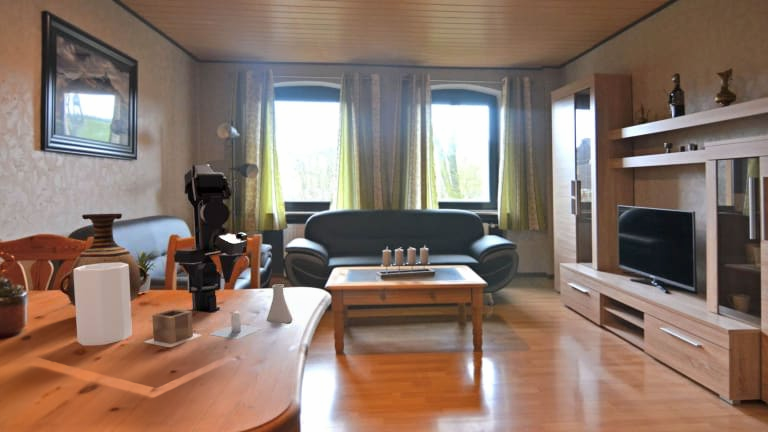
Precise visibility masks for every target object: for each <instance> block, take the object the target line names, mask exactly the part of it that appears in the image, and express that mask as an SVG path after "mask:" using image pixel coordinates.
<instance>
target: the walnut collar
mask: <svg viewBox="0 0 768 432" xmlns="http://www.w3.org/2000/svg"><path fill="white" fill-rule="evenodd" d="M192 311H193V310H184V309H178V308H177V309H176V308H173V309H170V310H167V311H163V312H160V313H155V314H153V315H152V333H153V334H152V335H153V337H152V339H154V341H158V342H163V343H168V344H173V343H176V342H179V341H181V340H184V339H187V338H189V337H192V336H193V334H194V331H193V327H194V326H193V312H192Z"/></svg>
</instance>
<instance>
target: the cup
mask: <svg viewBox="0 0 768 432" xmlns="http://www.w3.org/2000/svg"><path fill="white" fill-rule="evenodd" d="M73 272H74V289H75V306H74V307H75V321H76V335H77V336H76V337H77V338H76V339H77V343H79V344H81V345H82V346H104V345H108V344H111V343H117V342H121V341H124V340H126V339H127V338H129V337H130V336H131V335H133V326H132V325H133V323H132V307H131V302H132V301H130V282H129V265H128V264H125V263H100V264H92V265H84V266H81V267H77V268H75V269H73Z"/></svg>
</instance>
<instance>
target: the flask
mask: <svg viewBox="0 0 768 432" xmlns="http://www.w3.org/2000/svg"><path fill="white" fill-rule="evenodd" d="M284 287H285V285H284V284H282V283H281V284H278V283H277V284H273V285H272V286H271V289H272V292H273V293H272V294H273V295H272V299H271V300H272V301H271V304H270V307H269V311H268V314H267V316H266V320H265V321H266V322H273V323H280V324H288V323H291V322H292V321H293V316H292V313H291V311H290V308H289V306H288V304H287V303H288V302H287V301H286V298H285V295H284Z"/></svg>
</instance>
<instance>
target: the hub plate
mask: <svg viewBox="0 0 768 432" xmlns="http://www.w3.org/2000/svg"><path fill="white" fill-rule="evenodd" d="M241 322H242V320H241V313H240V312H239V311H233V312H232V313H231V315H230V324H231V325H230V326H227V327H224V328H222V329H219V330H216V331H214V332H211V333H208V335H209V336H214V337H215V336H216V337H221V338H228V339H231V340H232V339H233V340H239V339H241V338H243V337H246V336H248V335H250V334H253V333H255V332H258V331H260V330H262V329H264V328H263V327H257V326H251V325H250V326H249V325H244V324H241Z"/></svg>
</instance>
